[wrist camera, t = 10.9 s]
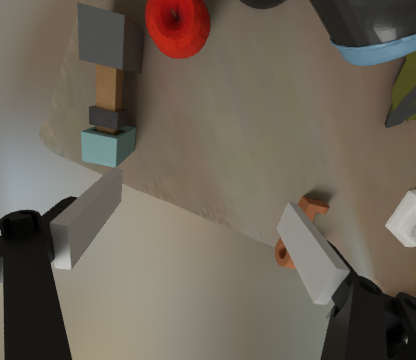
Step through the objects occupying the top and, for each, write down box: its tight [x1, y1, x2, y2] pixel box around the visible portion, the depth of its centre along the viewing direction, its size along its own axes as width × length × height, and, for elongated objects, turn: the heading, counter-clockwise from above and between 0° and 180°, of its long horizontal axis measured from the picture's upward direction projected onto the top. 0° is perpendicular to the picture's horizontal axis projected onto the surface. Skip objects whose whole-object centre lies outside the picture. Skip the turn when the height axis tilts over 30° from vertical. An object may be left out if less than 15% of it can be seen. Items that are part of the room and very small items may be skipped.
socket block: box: [81, 125, 136, 168], centre depth 41 cm, size 6×6×11 cm
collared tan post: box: [89, 64, 127, 136], centre depth 37 cm, size 16×5×5 cm, turn 167°
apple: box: [145, 0, 211, 58], centre depth 33 cm, size 10×10×12 cm
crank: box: [275, 196, 330, 269], centre depth 55 cm, size 20×8×8 cm, turn 164°
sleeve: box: [77, 3, 144, 73], centre depth 35 cm, size 7×6×10 cm
